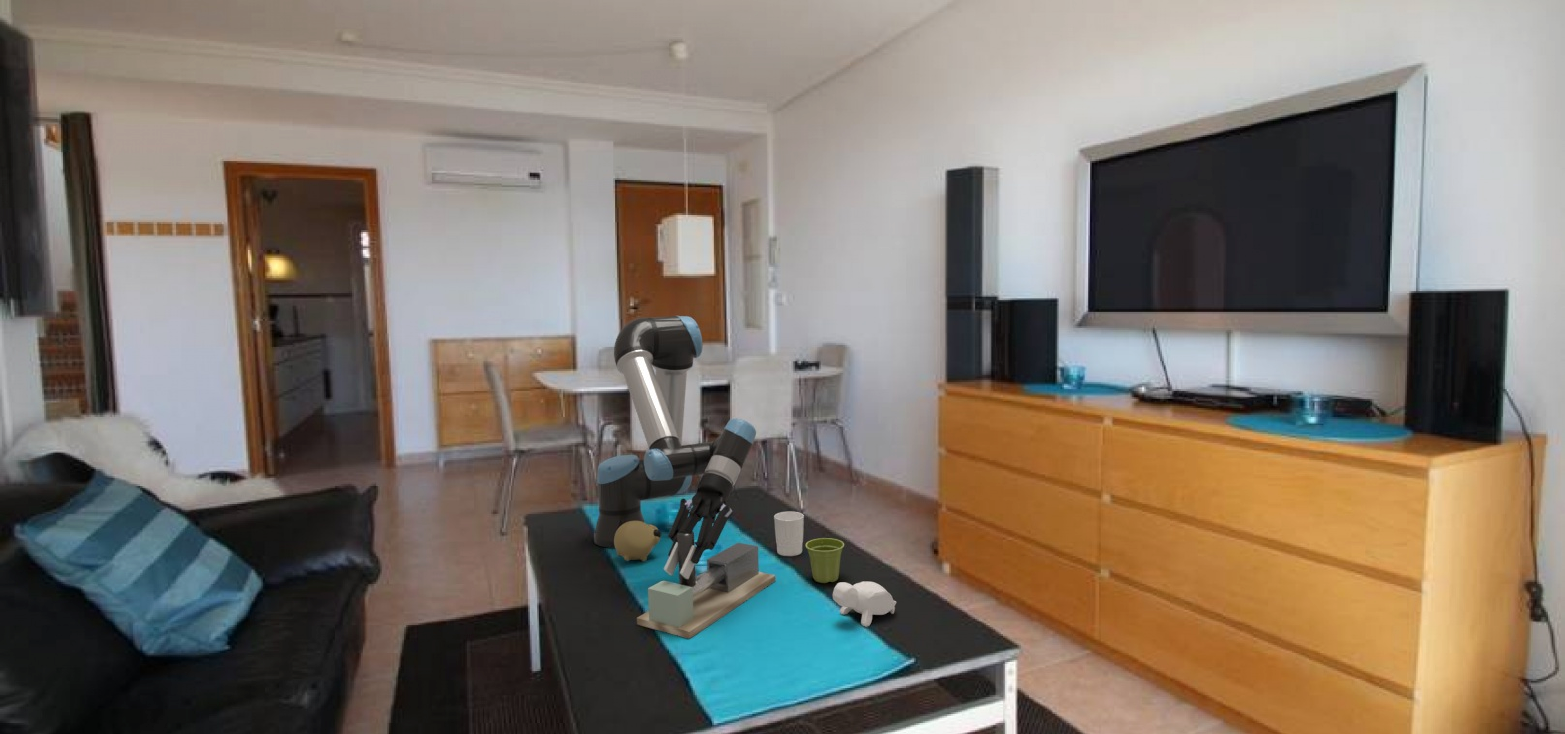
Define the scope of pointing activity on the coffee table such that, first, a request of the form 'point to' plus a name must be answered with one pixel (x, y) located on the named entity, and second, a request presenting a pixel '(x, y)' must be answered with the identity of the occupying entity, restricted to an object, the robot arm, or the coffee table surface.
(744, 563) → the outer sleeve
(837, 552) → the plant pot
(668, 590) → the socket block
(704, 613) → the birch base board
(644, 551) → the toy pig
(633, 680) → the coffee table surface
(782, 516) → the white cup
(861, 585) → the white turtle figurine
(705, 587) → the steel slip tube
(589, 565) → the coffee table surface
